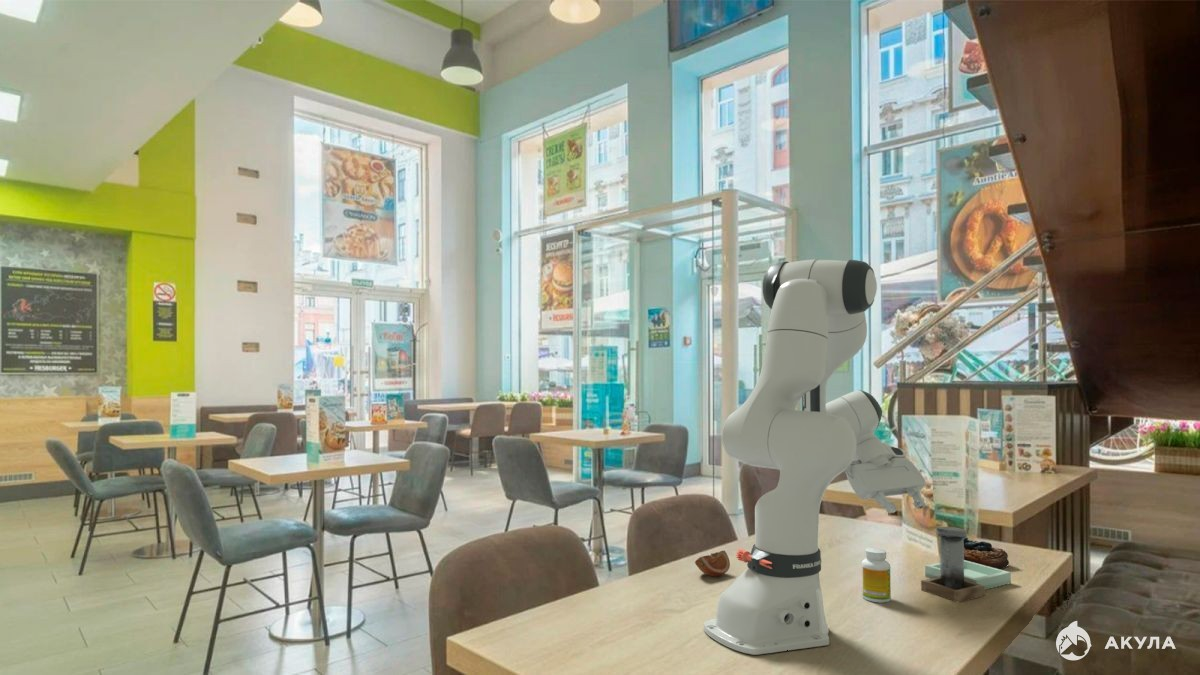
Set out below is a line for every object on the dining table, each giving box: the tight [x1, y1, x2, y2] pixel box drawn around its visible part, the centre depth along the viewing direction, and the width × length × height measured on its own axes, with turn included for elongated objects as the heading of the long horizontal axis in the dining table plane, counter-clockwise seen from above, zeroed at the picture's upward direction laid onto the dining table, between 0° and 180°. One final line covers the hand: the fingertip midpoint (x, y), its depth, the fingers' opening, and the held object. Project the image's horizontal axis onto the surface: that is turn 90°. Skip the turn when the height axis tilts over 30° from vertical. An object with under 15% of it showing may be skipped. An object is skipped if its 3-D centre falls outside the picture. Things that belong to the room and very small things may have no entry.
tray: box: [924, 560, 1012, 591], centre depth 151 cm, size 12×12×2 cm
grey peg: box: [936, 526, 968, 590], centre depth 142 cm, size 6×6×13 cm
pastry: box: [963, 537, 1010, 569], centre depth 164 cm, size 11×12×6 cm
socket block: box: [920, 576, 985, 603], centre depth 142 cm, size 8×8×2 cm
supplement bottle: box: [861, 547, 891, 604], centre depth 138 cm, size 5×5×10 cm
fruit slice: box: [694, 550, 731, 578], centre depth 153 cm, size 8×7×5 cm
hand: (907, 509), depth 152 cm, fingers open, 8 cm apart
